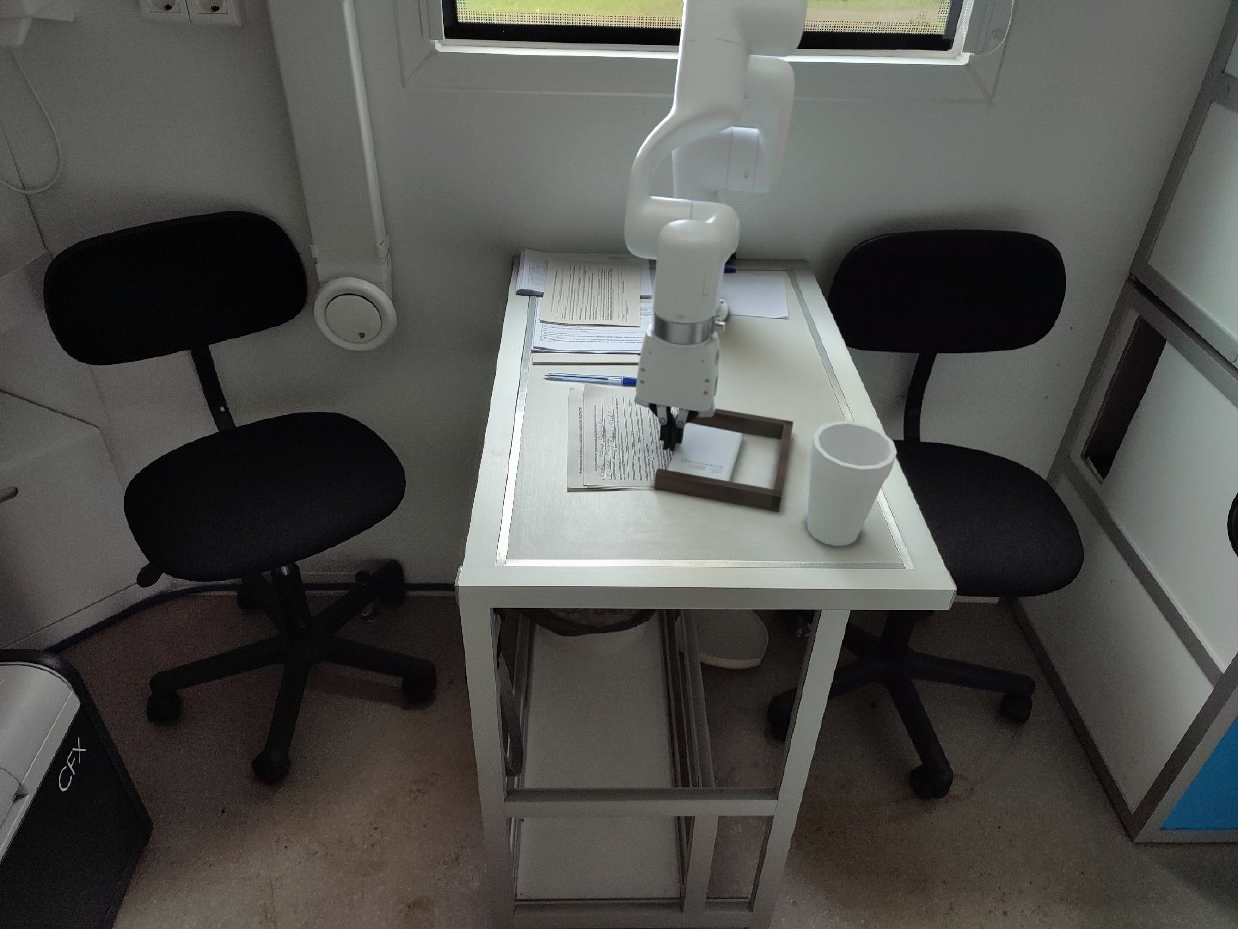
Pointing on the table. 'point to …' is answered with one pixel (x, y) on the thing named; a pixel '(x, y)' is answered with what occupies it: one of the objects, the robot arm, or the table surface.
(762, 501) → the dock
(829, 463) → the foam cup
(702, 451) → the hard drive
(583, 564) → the table surface
